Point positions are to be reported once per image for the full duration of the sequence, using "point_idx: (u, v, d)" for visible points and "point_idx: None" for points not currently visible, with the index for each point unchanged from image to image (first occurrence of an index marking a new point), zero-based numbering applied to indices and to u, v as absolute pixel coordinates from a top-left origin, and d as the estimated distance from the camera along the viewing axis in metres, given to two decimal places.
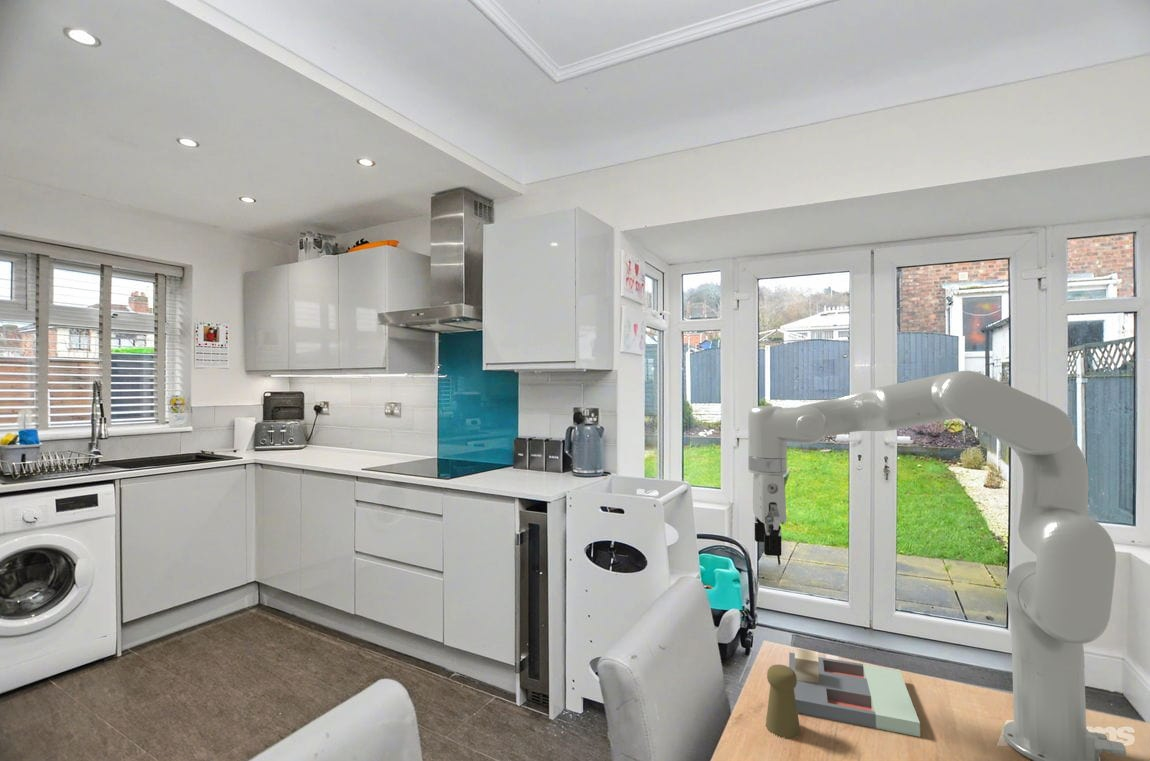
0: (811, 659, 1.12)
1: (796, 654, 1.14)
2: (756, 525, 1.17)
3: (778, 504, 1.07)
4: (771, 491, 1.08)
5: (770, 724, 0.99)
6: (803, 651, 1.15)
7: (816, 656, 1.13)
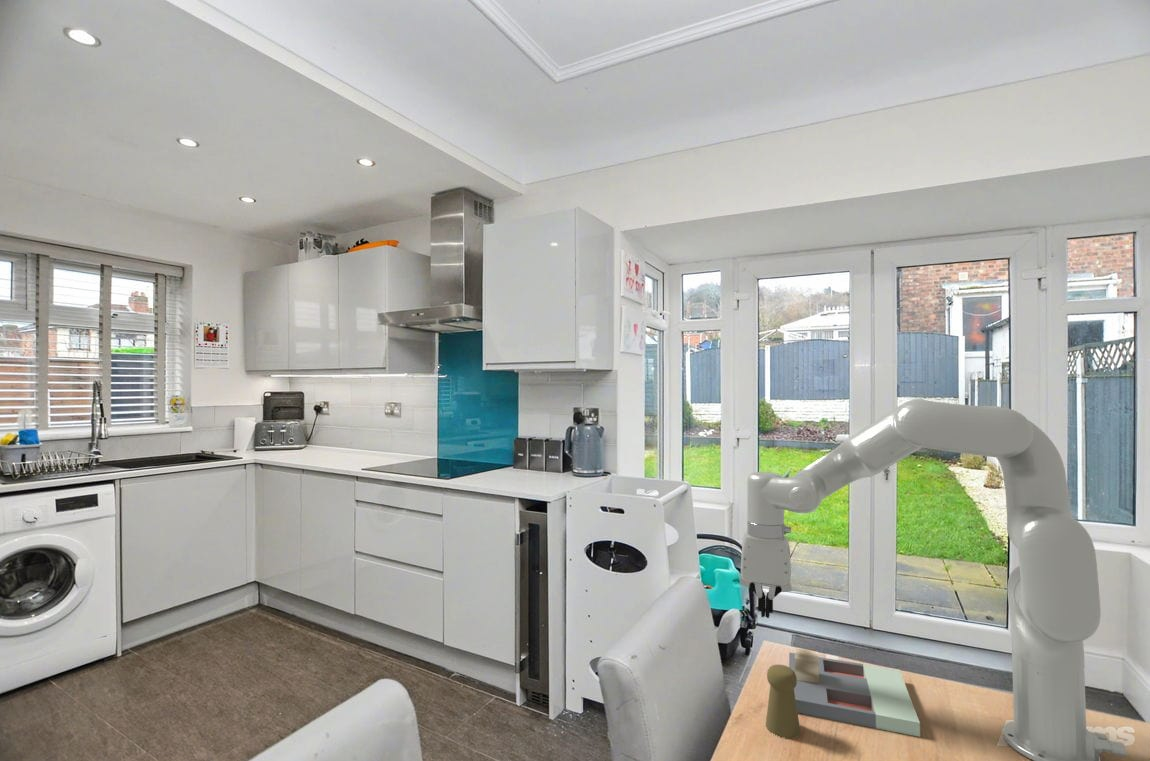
0: (811, 659, 1.12)
1: (796, 654, 1.14)
2: (764, 600, 1.16)
3: (790, 563, 1.16)
4: None
5: (770, 725, 0.99)
6: (803, 651, 1.15)
7: (816, 656, 1.13)
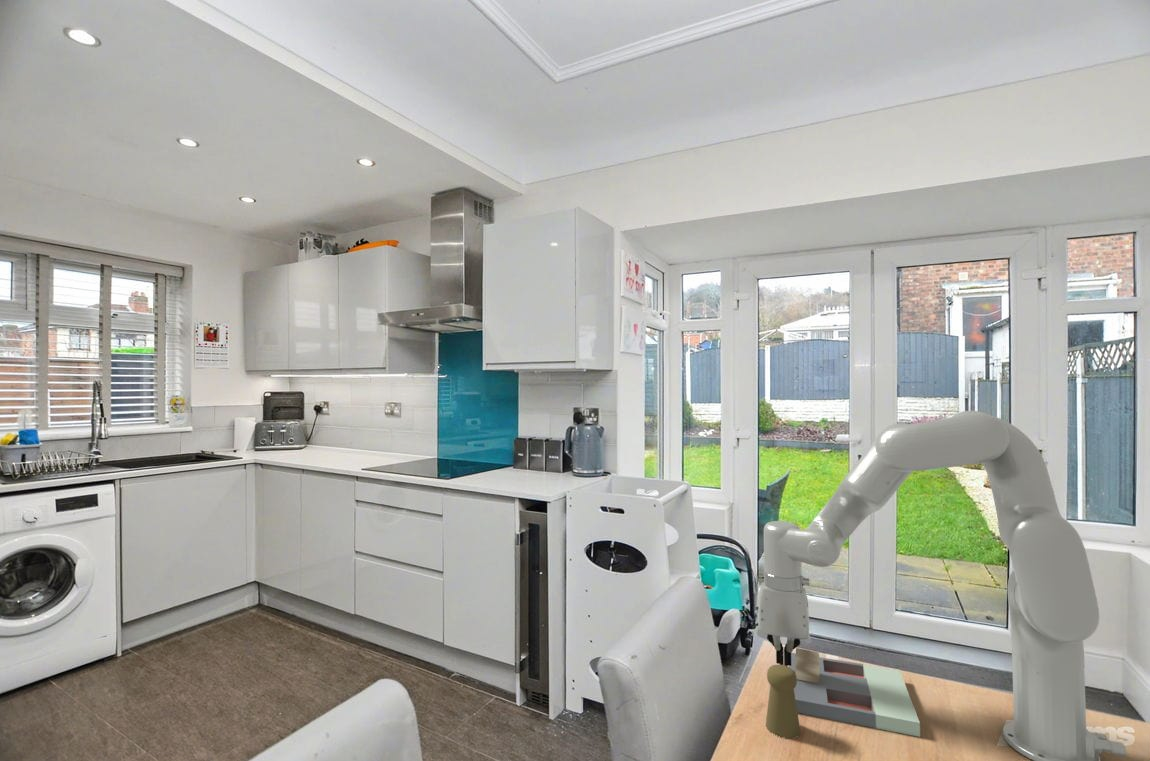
0: (812, 659, 1.12)
1: (797, 653, 1.14)
2: (782, 653, 1.14)
3: None
4: None
5: (770, 725, 0.99)
6: (804, 651, 1.15)
7: (817, 656, 1.13)
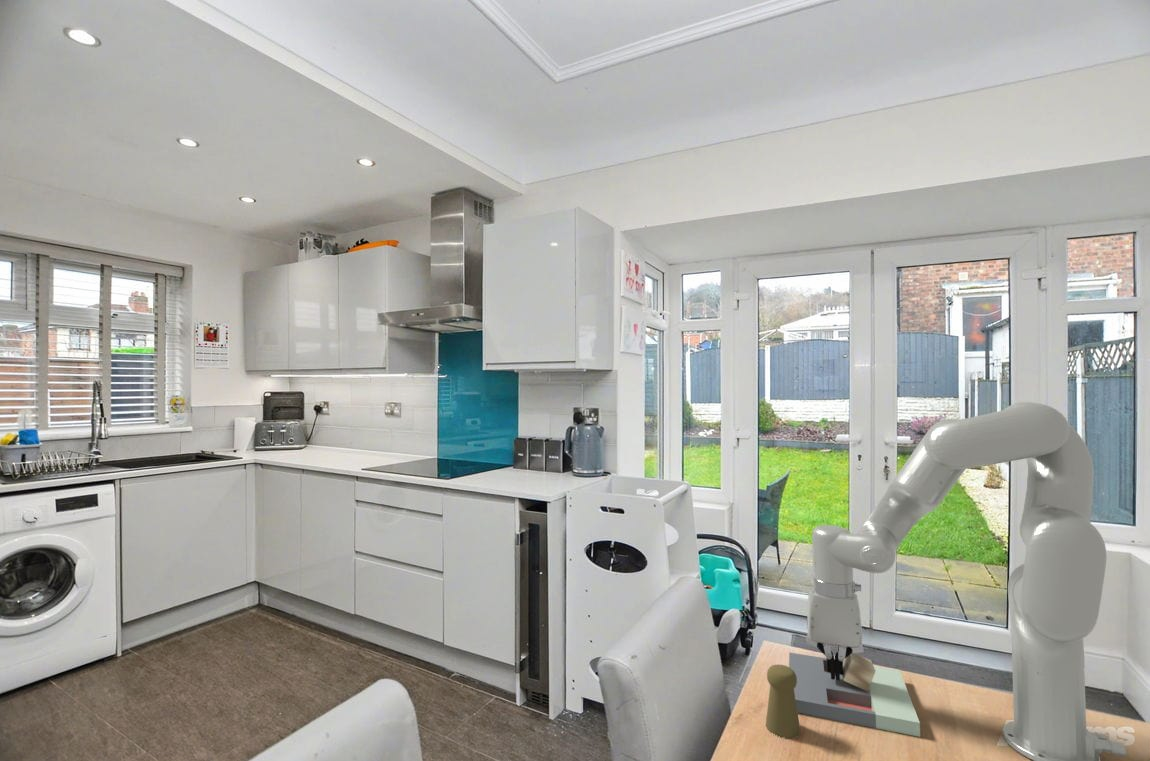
0: (868, 666, 1.08)
1: (851, 657, 1.10)
2: (834, 662, 1.10)
3: None
4: None
5: (770, 725, 0.99)
6: (857, 656, 1.12)
7: (871, 665, 1.09)
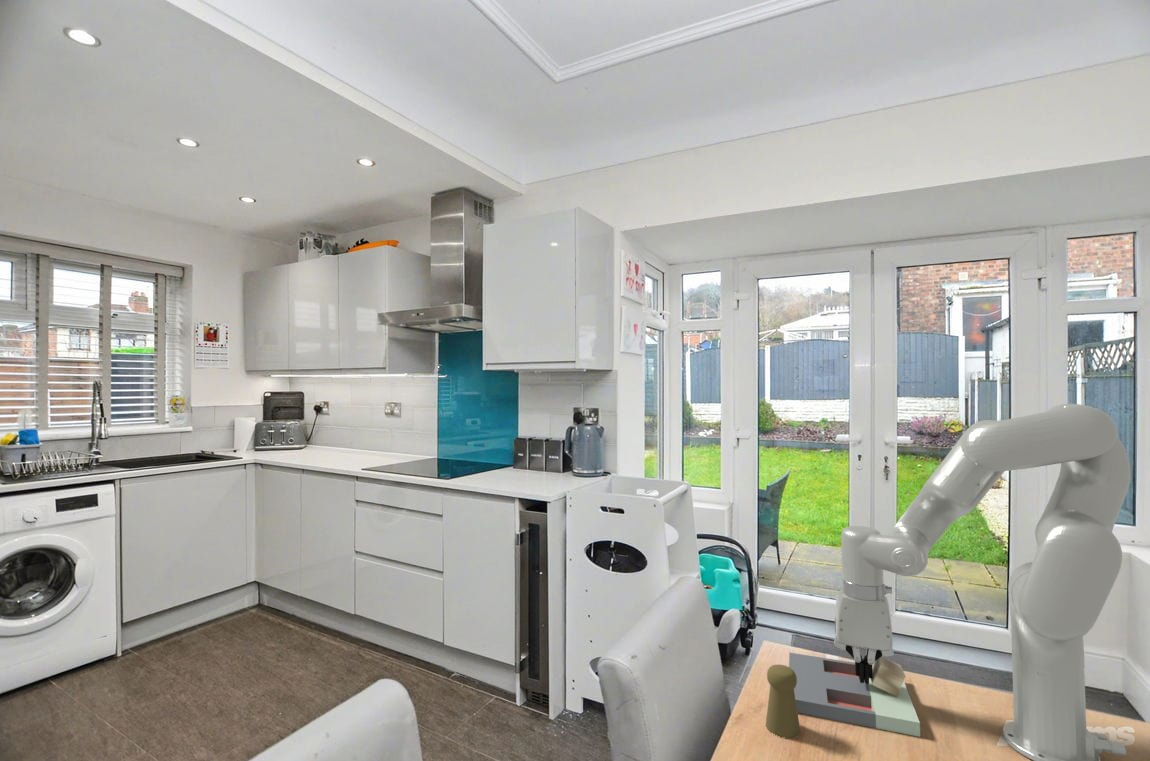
0: (897, 671, 1.06)
1: (880, 661, 1.08)
2: (863, 665, 1.09)
3: None
4: None
5: (770, 725, 0.99)
6: (886, 660, 1.10)
7: (901, 670, 1.07)
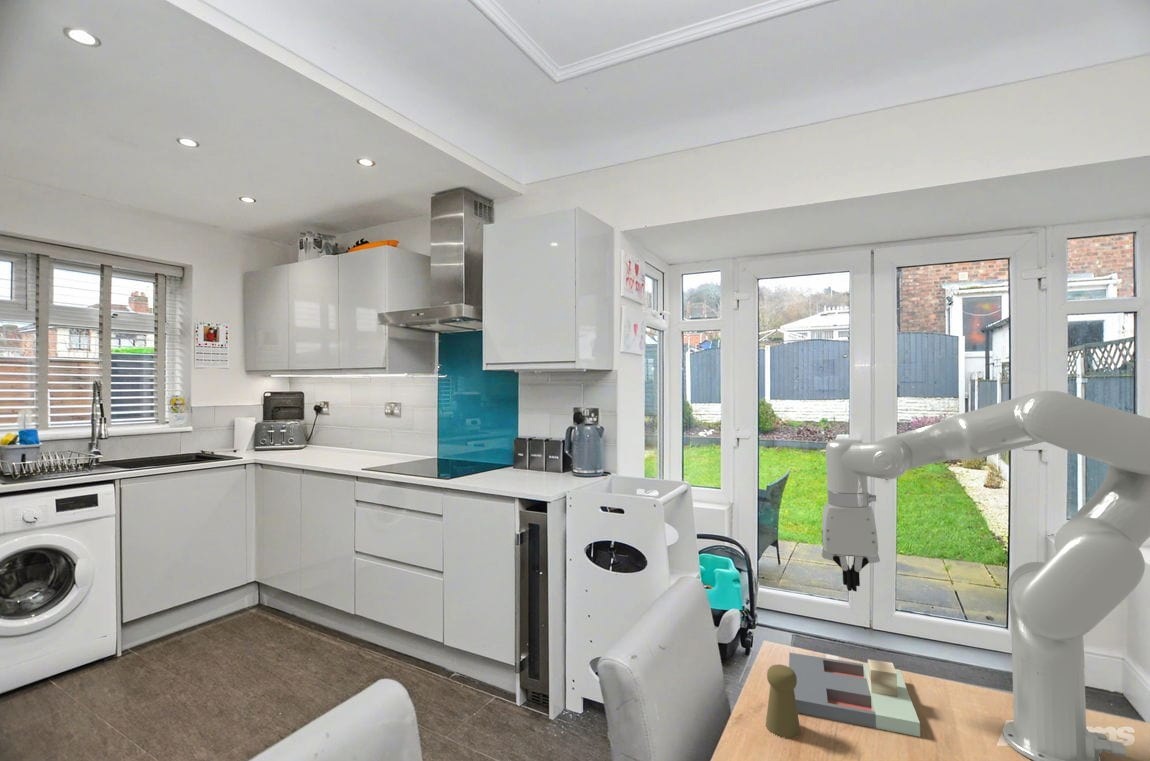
0: (888, 671, 1.07)
1: (871, 665, 1.09)
2: (850, 573, 1.11)
3: None
4: None
5: (770, 725, 0.99)
6: (877, 662, 1.10)
7: (892, 667, 1.08)
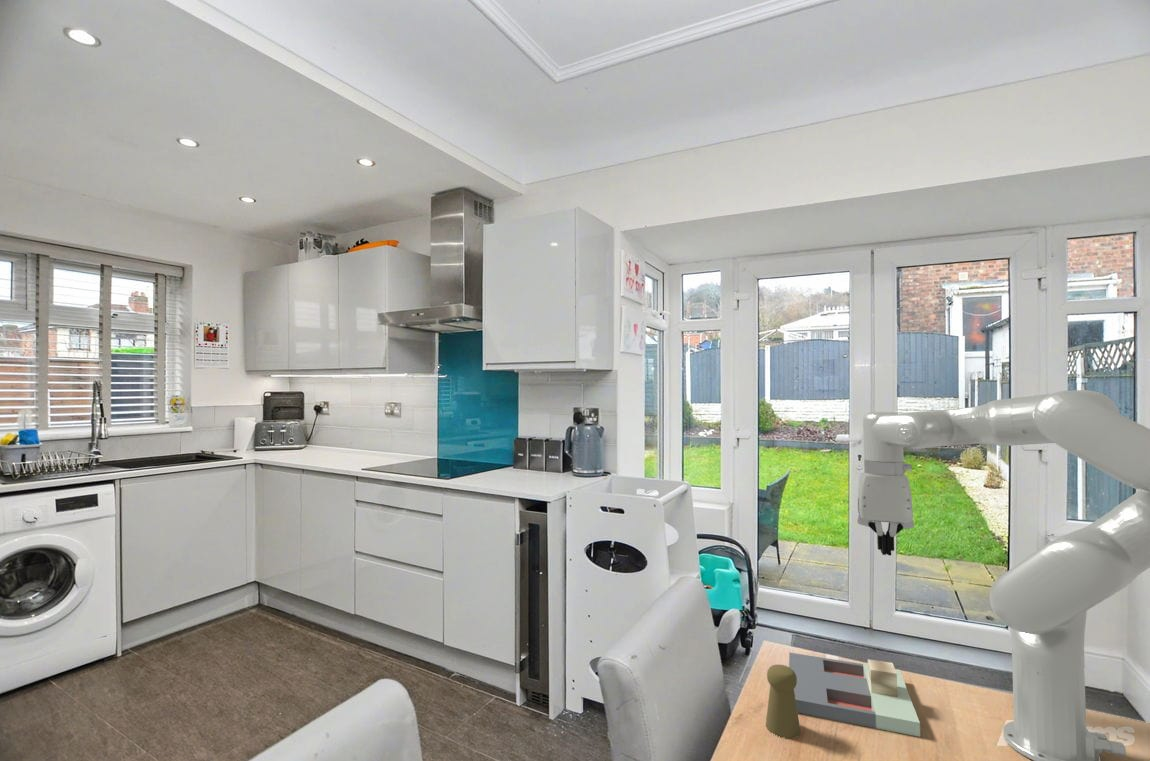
0: (888, 671, 1.07)
1: (871, 665, 1.09)
2: (885, 538, 1.16)
3: None
4: None
5: (770, 725, 0.99)
6: (877, 662, 1.10)
7: (892, 667, 1.08)
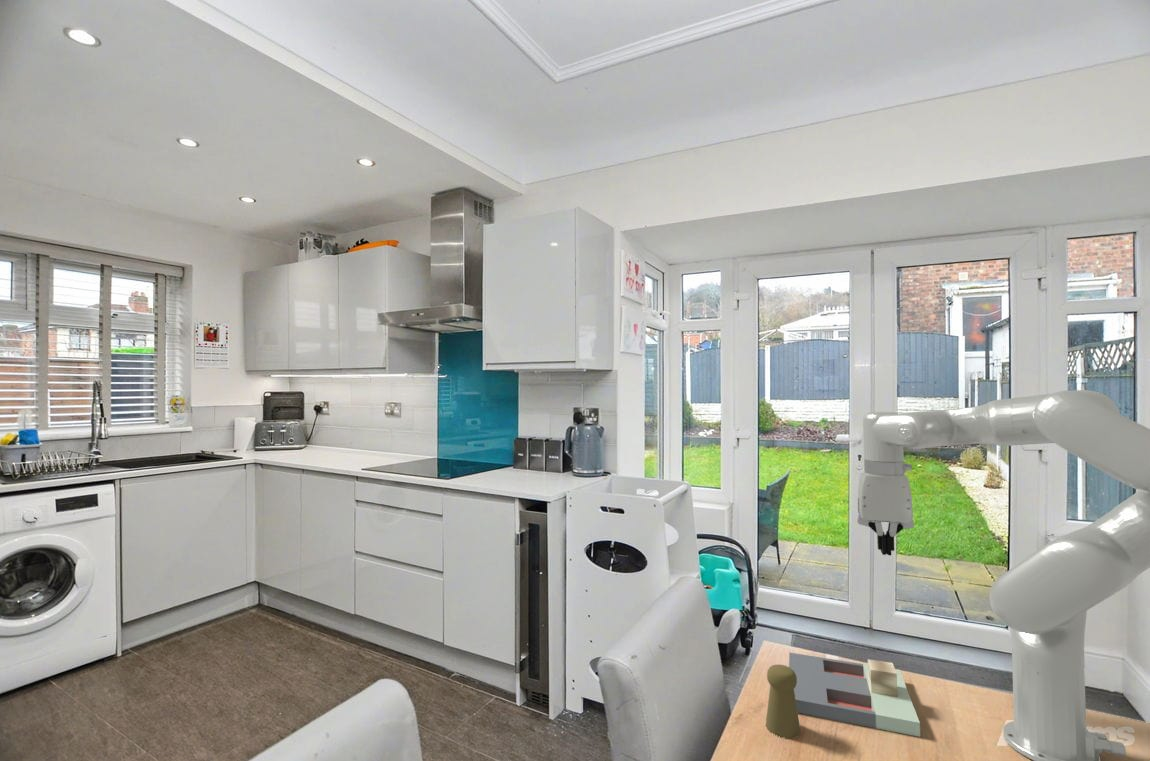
0: (888, 671, 1.07)
1: (871, 665, 1.09)
2: (885, 538, 1.16)
3: None
4: None
5: (770, 725, 0.99)
6: (877, 662, 1.10)
7: (892, 667, 1.08)
